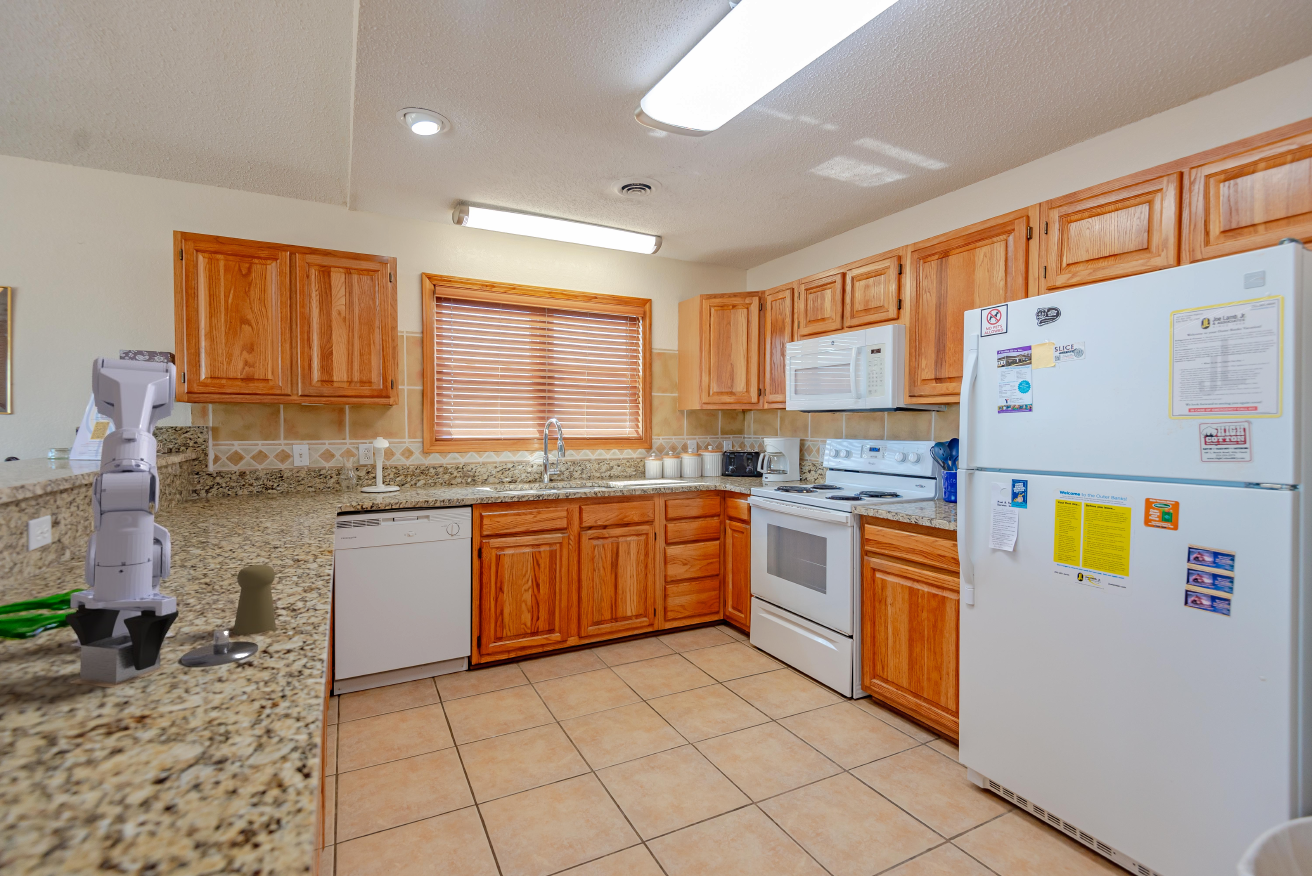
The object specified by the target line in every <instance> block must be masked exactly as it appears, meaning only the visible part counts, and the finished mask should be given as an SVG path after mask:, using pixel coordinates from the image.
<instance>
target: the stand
mask: <svg viewBox="0 0 1312 876" xmlns="http://www.w3.org/2000/svg"><path fill="white" fill-rule="evenodd" d="M169 668H170V666H164V665H160V669H157V670H154V671H152V672H149V673H146V674H144V675H141V676H138V677H136V678H133V679H130V680H128V681H125V682H122V683H119V684H117V685H113V684H105V683H96V682H87V681H80V678H77V679H75V680H73V681H69V684H70V683H71V684H79V685H86V686H93V687H94V686H95V687H101V688H103V687H104V688H111V689H115V688H116V689H117V688H118V687H121V686H124V685H126V684H129V683H131V682H134V681H137V680H139V679H142V678H145V677H149V676H151V675H152V674H155V673H158V672H160V671H164V670H166V669H169Z"/></svg>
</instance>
